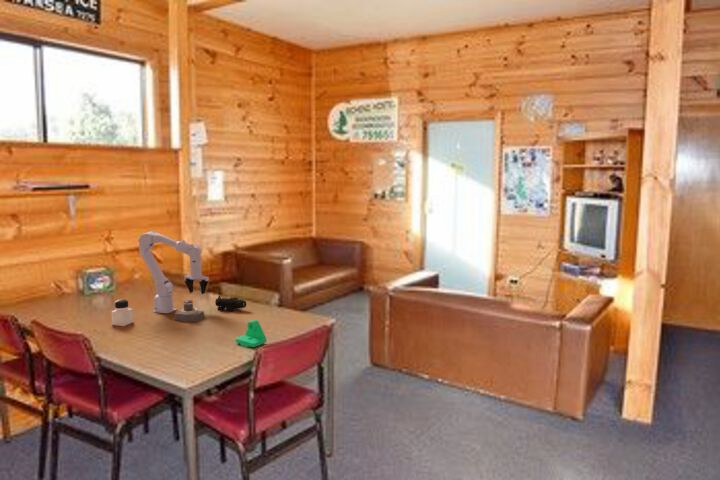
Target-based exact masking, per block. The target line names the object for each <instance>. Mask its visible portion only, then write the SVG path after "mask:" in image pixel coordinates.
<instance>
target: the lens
mask: <svg viewBox="0 0 720 480" xmlns="http://www.w3.org/2000/svg"><path fill="white" fill-rule="evenodd" d="M193 308H194V302H193V299H192V300H191V299H188V300H187V299H186V300H184V301H183V309H184V311H193Z"/></svg>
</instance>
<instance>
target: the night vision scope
mask: <svg viewBox="0 0 720 480" xmlns="http://www.w3.org/2000/svg"><path fill="white" fill-rule="evenodd" d="M215 306H216V307H217V311H219V310H220V311H222V312H232V311H234V312H235V310H239V309H243V308H246V307H247V302H246V301H245V300H243V299H241V298H238V297H230V298H225V297H223V298H222V297H221V295H218V297H217V298H216V299H215Z"/></svg>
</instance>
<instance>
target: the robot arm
mask: <svg viewBox="0 0 720 480" xmlns="http://www.w3.org/2000/svg"><path fill="white" fill-rule="evenodd" d="M137 241H138V251H139V252H138V253H139V254H140V256H141V258H142V259H143V261H144V264H145V265H146V267H147V269H148V271H149V273H150V275H151V276H152V277H153V280H154V287H155V288H156V290H155V291H156V295H155V296H154V297H153V309H154V310H153V313H161V314H170V313H173V312H175V311H178V308H174V297H173V296H174V295H173V290H174V287H175V286H174V283H173V282H171V281H170V280H169V278H168V277H167V276H165V275H164V274H165V273H163V270H162V269H161V267H160V266H159V264H158V262H157V260H156V258H155V257H154V254H153V253H152V249H153V245H154V244H158V243H161V244H165V245H167V246H170V247H173V248H174V249H175V250H176V252H180V253H182V254H185V255H188V257H189V265H190V266H189V268H190V275H187V274H186V275H183V280H184V284H185V285H186V286H187V289H188V292H189V294H192V293H193V292H194V281H199V287H200V293H201V295H203V294H205V293H206V289H207V285H208V284H209V281H210V277H209V276H205V275H203V273H202V272H203V271H202V255H201V254H202V251H203V249H202V248H201V247H200V246H199V245H198V244H196V245H195V244H194V243H188V242H186V241H185V240H178V241H177V240H174V239H172V238H170V237H168V236H165V235H163V234H161V233H159V232H155V231H153V230H152V231H151V230H150V231H147V232H145V233H142V234H140V236H139V238H138V240H137Z"/></svg>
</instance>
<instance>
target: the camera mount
mask: <svg viewBox="0 0 720 480" xmlns="http://www.w3.org/2000/svg"><path fill="white" fill-rule="evenodd" d="M246 327H247V330H246V332H245V333H244V334H243V335H241V336H238V337H235V343H237V344H240V346H242V347H244V348H251V347H252V348H253V347H257V346H260V345H263V344H265V343H267V337H266V334H265V333H264V330H263V328H262V326H261V323H260V321H259V320H257V319H253V320H250V321H249V322H247V326H246Z"/></svg>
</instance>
